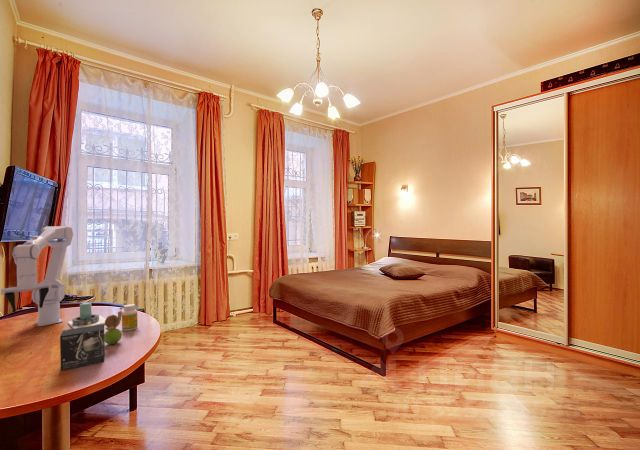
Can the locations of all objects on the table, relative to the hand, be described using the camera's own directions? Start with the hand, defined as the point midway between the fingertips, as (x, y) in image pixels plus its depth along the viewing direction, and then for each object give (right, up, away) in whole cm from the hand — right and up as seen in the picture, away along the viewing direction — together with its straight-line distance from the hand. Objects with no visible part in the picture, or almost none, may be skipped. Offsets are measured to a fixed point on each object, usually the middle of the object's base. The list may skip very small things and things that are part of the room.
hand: (27, 309), depth 122 cm
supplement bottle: (+37, -9, +5) cm, 39 cm away
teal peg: (+14, -9, +12) cm, 20 cm away
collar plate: (+15, -10, +13) cm, 22 cm away
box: (+42, -10, -26) cm, 51 cm away
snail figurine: (+41, -9, -11) cm, 44 cm away
